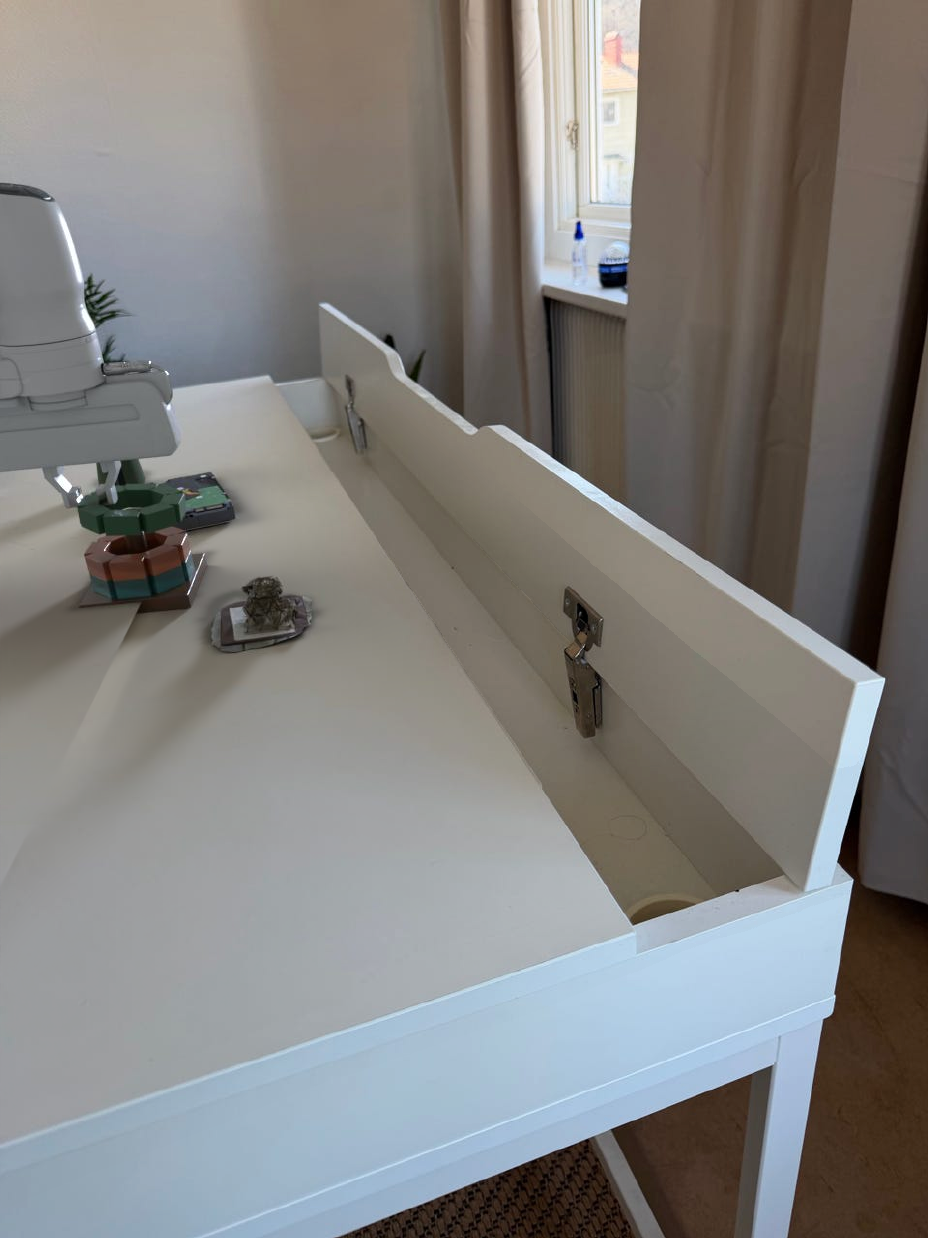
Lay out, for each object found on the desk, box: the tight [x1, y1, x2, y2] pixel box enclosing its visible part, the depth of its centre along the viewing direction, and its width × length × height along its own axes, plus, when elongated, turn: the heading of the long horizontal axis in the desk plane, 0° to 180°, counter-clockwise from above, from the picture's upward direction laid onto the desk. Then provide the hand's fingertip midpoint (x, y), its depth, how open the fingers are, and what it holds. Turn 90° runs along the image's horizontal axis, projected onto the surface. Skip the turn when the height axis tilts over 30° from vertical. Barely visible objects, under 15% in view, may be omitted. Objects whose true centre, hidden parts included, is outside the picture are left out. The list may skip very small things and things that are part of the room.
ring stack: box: [78, 508, 208, 614], centre depth 99 cm, size 11×11×9 cm
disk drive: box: [141, 471, 236, 532], centre depth 122 cm, size 10×3×15 cm
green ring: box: [76, 483, 186, 536], centre depth 97 cm, size 10×10×2 cm
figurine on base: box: [210, 575, 313, 653], centre depth 92 cm, size 12×6×11 cm
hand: (92, 504), depth 96 cm, fingers closed on green ring, 2 cm apart
